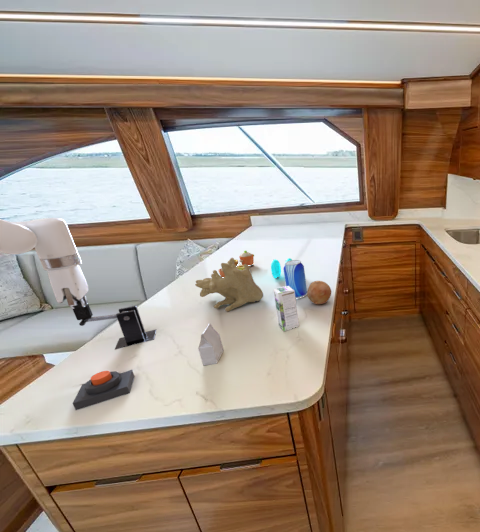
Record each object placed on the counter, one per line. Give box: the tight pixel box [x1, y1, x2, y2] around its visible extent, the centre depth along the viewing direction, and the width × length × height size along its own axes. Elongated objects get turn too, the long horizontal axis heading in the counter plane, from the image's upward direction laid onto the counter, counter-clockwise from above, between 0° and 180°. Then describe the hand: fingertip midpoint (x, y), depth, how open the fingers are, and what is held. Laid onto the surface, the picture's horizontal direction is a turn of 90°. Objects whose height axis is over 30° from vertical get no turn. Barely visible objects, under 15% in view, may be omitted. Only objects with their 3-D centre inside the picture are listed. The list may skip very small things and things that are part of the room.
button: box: [90, 370, 112, 385], centre depth 76 cm, size 4×4×2 cm
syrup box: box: [272, 285, 300, 332], centre depth 105 cm, size 6×6×14 cm
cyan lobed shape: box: [270, 257, 293, 279], centre depth 155 cm, size 10×10×10 cm
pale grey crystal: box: [198, 323, 224, 367], centre depth 89 cm, size 4×7×10 cm, turn 15°
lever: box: [78, 310, 131, 327], centre depth 94 cm, size 12×6×2 cm, turn 123°
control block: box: [72, 369, 135, 411], centre depth 77 cm, size 10×8×4 cm
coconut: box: [306, 280, 332, 305], centre depth 124 cm, size 10×10×10 cm
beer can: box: [283, 259, 308, 298], centre depth 130 cm, size 8×8×16 cm
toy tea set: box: [217, 250, 255, 277], centre depth 166 cm, size 26×16×10 cm, turn 15°
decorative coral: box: [195, 257, 264, 313], centre depth 124 cm, size 26×22×25 cm
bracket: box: [114, 305, 157, 350], centre depth 98 cm, size 10×8×12 cm
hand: (85, 317), depth 91 cm, fingers closed
